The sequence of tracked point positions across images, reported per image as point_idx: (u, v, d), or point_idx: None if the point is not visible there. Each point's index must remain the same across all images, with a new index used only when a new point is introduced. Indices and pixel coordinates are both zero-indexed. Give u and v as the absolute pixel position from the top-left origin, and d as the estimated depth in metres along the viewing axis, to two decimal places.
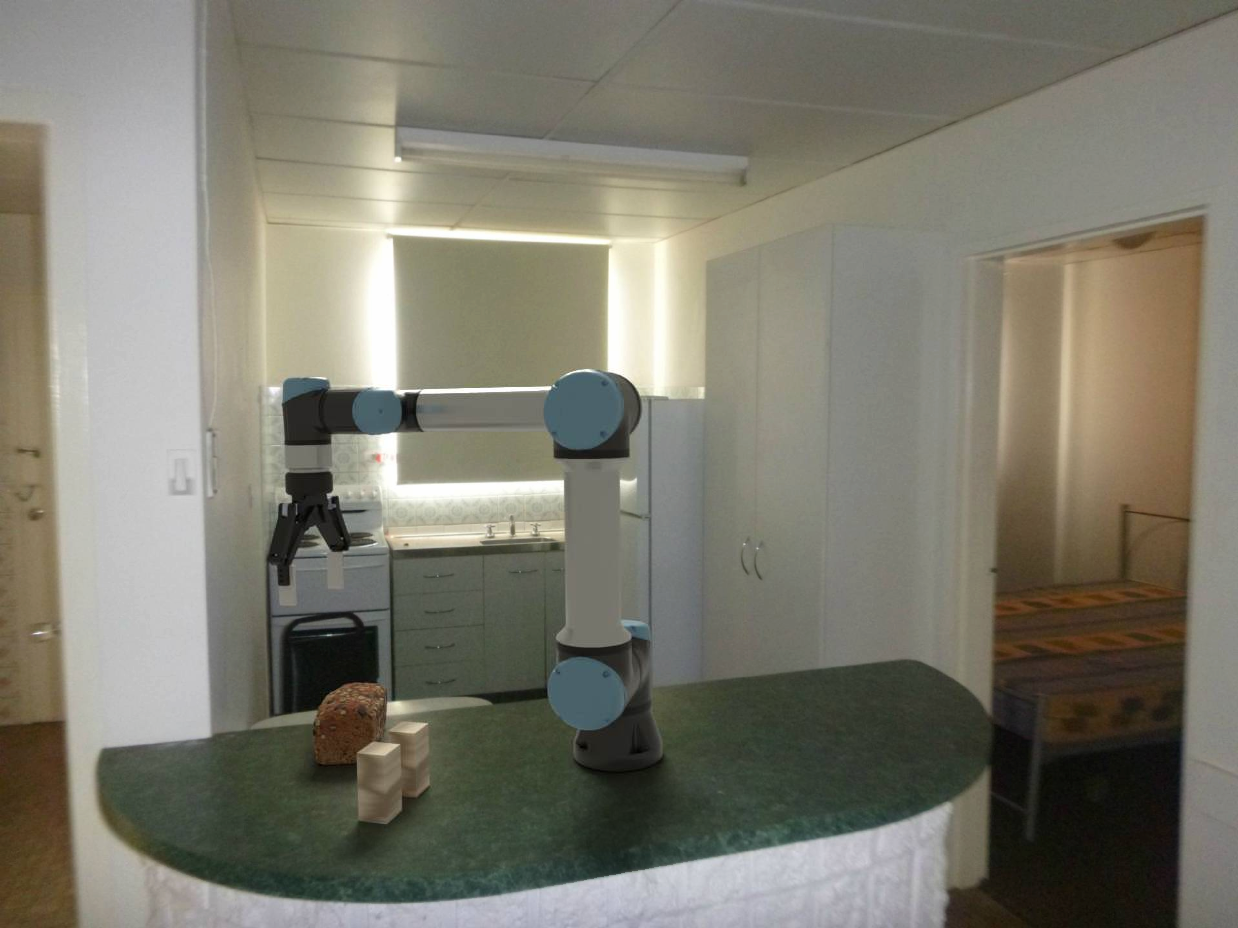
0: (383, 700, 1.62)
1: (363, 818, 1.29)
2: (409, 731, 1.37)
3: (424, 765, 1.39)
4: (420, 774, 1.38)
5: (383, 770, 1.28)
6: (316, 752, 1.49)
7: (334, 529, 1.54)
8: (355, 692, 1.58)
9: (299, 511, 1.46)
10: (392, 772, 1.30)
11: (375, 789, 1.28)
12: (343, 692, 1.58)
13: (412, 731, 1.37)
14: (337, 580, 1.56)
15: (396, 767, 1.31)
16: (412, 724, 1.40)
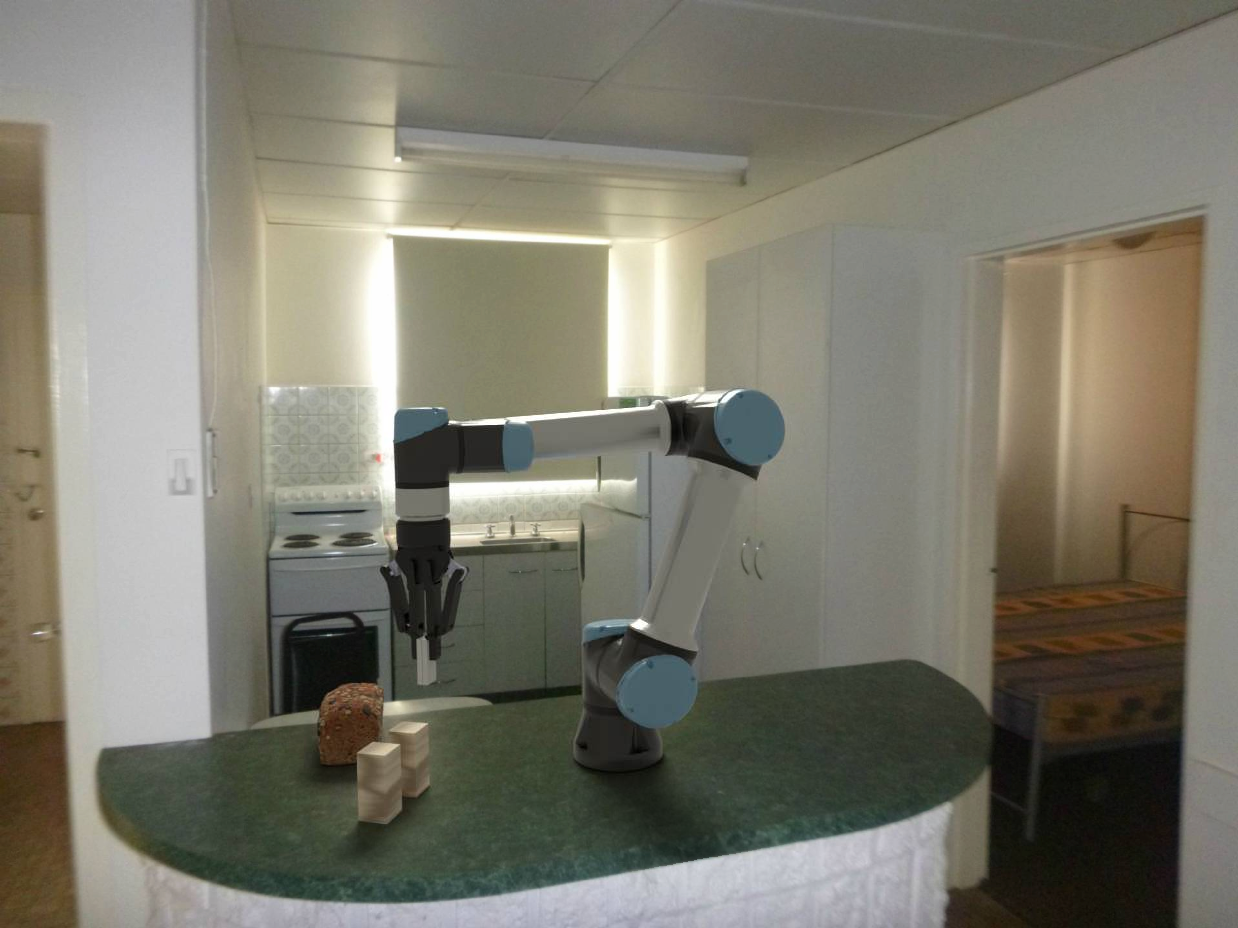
0: None
1: (363, 818, 1.29)
2: (409, 731, 1.37)
3: (424, 765, 1.39)
4: (420, 774, 1.38)
5: (383, 771, 1.28)
6: (321, 753, 1.49)
7: (431, 604, 1.25)
8: (355, 692, 1.58)
9: None
10: (392, 772, 1.30)
11: (375, 789, 1.28)
12: (343, 692, 1.58)
13: (412, 731, 1.37)
14: None
15: (396, 767, 1.31)
16: (412, 724, 1.40)
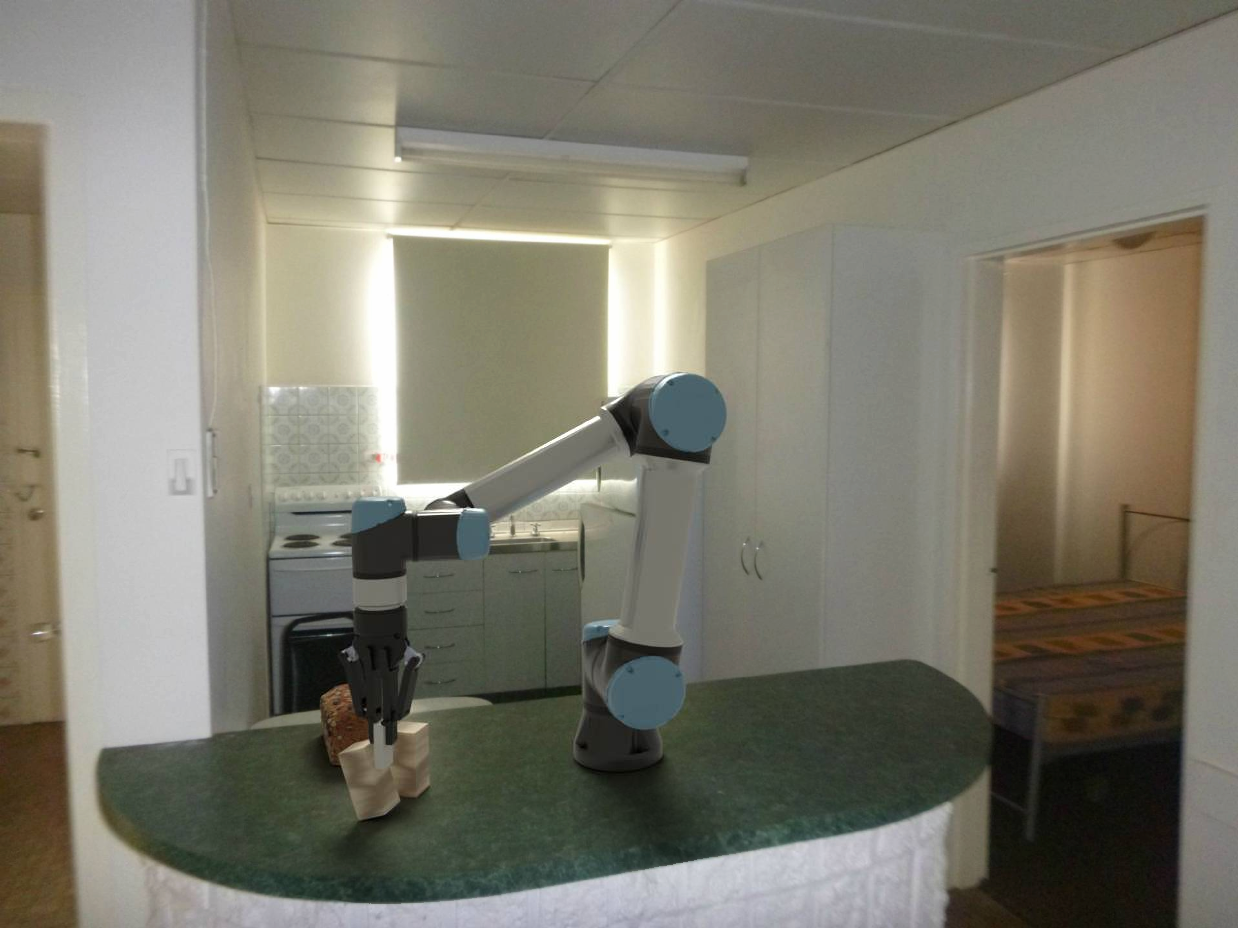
0: None
1: (362, 816, 1.29)
2: (409, 731, 1.37)
3: (424, 765, 1.39)
4: (420, 774, 1.38)
5: (367, 763, 1.28)
6: (332, 753, 1.48)
7: (387, 690, 1.28)
8: None
9: None
10: None
11: (365, 783, 1.29)
12: (345, 693, 1.57)
13: (412, 731, 1.37)
14: None
15: None
16: (412, 724, 1.40)
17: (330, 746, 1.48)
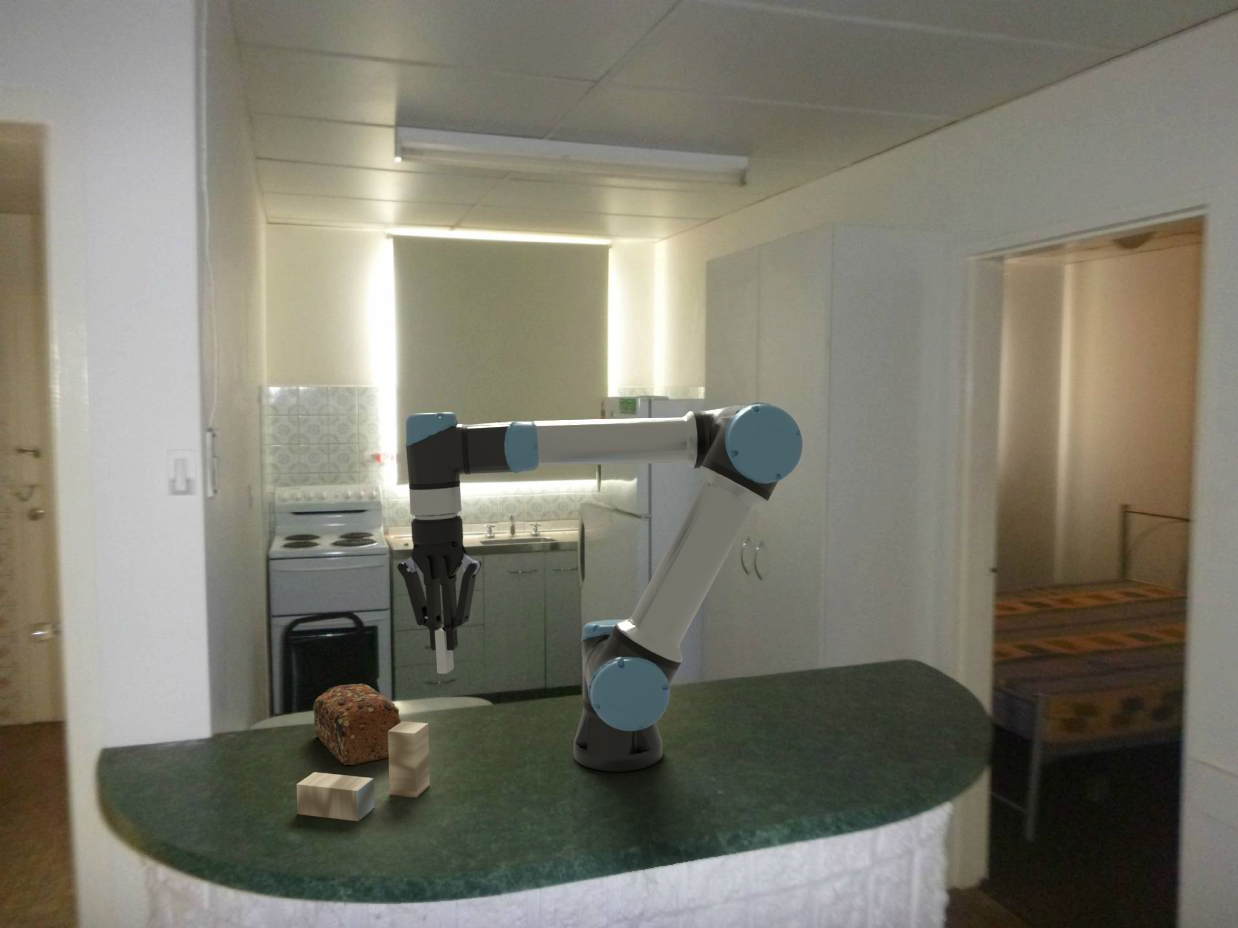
0: None
1: (355, 815, 1.29)
2: (409, 731, 1.37)
3: (424, 765, 1.39)
4: (420, 774, 1.38)
5: (310, 787, 1.31)
6: (345, 753, 1.48)
7: (447, 597, 1.33)
8: (359, 692, 1.58)
9: None
10: (323, 780, 1.33)
11: (327, 798, 1.30)
12: (347, 693, 1.57)
13: (412, 731, 1.37)
14: None
15: (327, 777, 1.34)
16: (412, 724, 1.40)
17: (343, 746, 1.48)
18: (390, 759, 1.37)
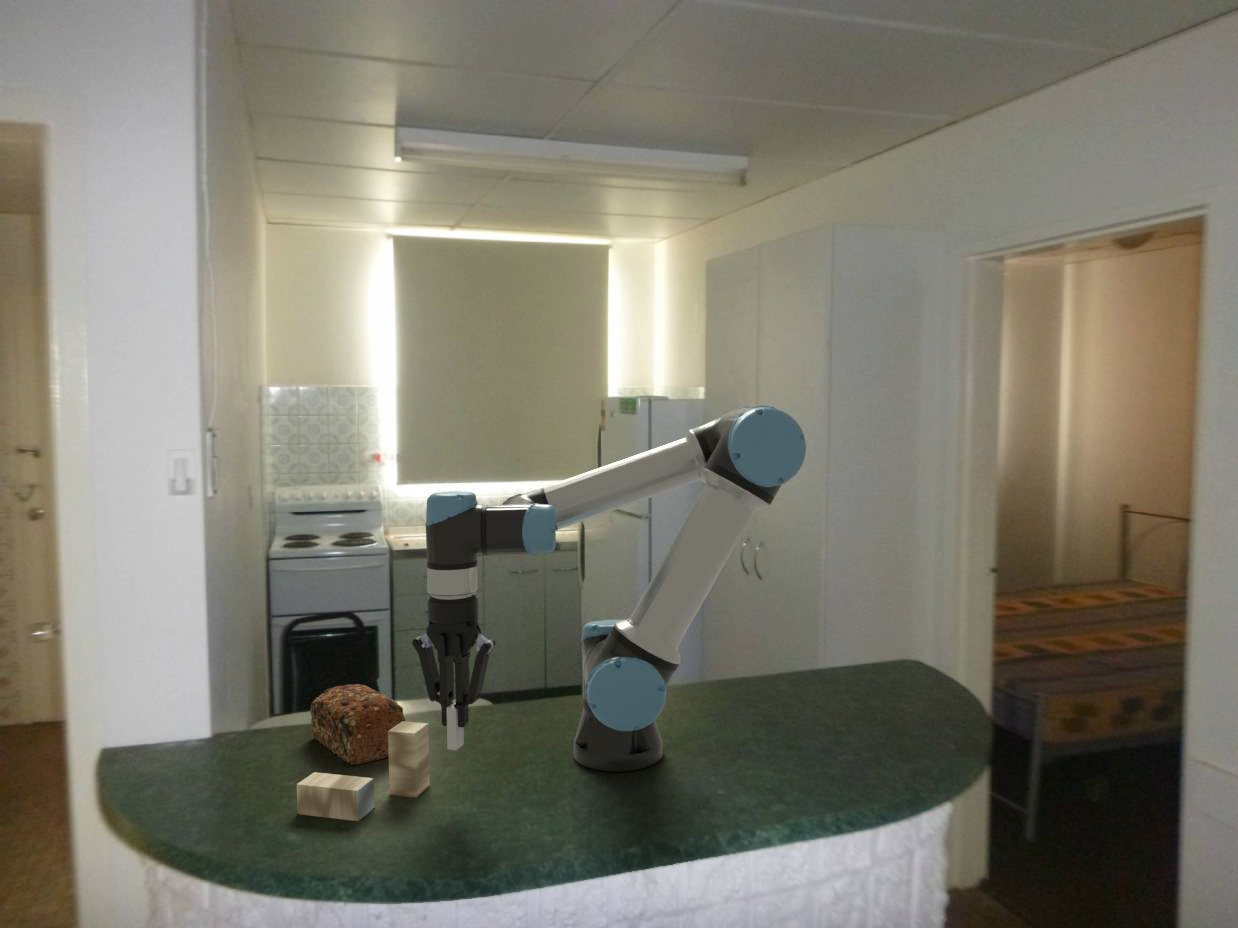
0: None
1: (355, 815, 1.29)
2: (409, 731, 1.37)
3: (424, 765, 1.39)
4: (420, 774, 1.38)
5: (310, 787, 1.31)
6: (352, 753, 1.49)
7: (460, 675, 1.35)
8: (360, 691, 1.58)
9: None
10: (323, 780, 1.33)
11: (327, 798, 1.30)
12: (348, 693, 1.57)
13: (412, 731, 1.37)
14: None
15: (327, 777, 1.34)
16: (412, 724, 1.40)
17: (350, 745, 1.48)
18: (390, 759, 1.37)
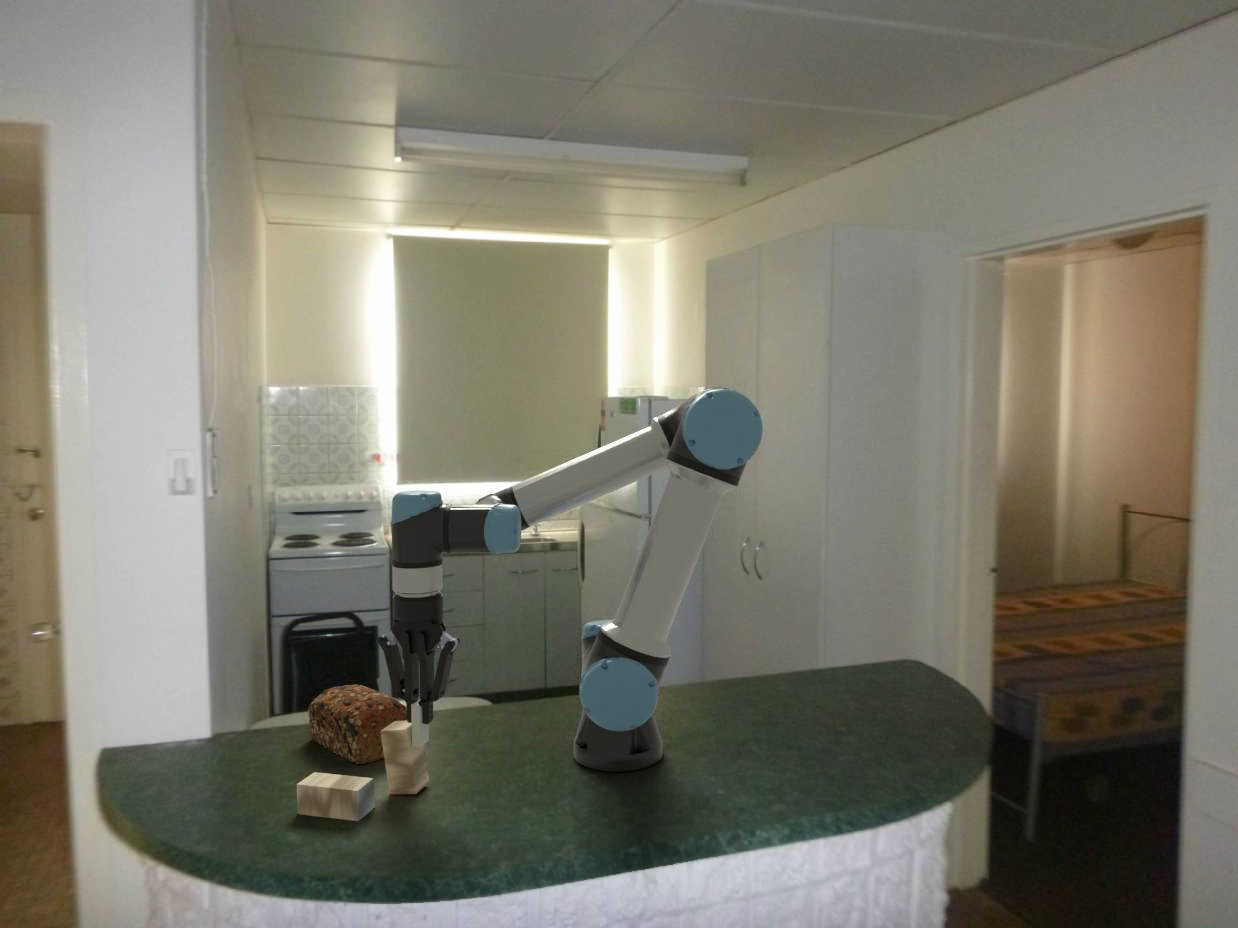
0: None
1: (355, 815, 1.29)
2: (401, 728, 1.37)
3: (421, 761, 1.39)
4: (418, 771, 1.38)
5: (310, 787, 1.31)
6: (358, 752, 1.49)
7: (424, 672, 1.36)
8: (361, 691, 1.58)
9: None
10: (323, 780, 1.33)
11: (327, 798, 1.30)
12: (349, 693, 1.57)
13: (404, 728, 1.37)
14: None
15: (327, 777, 1.34)
16: (404, 722, 1.41)
17: (356, 745, 1.48)
18: (386, 759, 1.38)
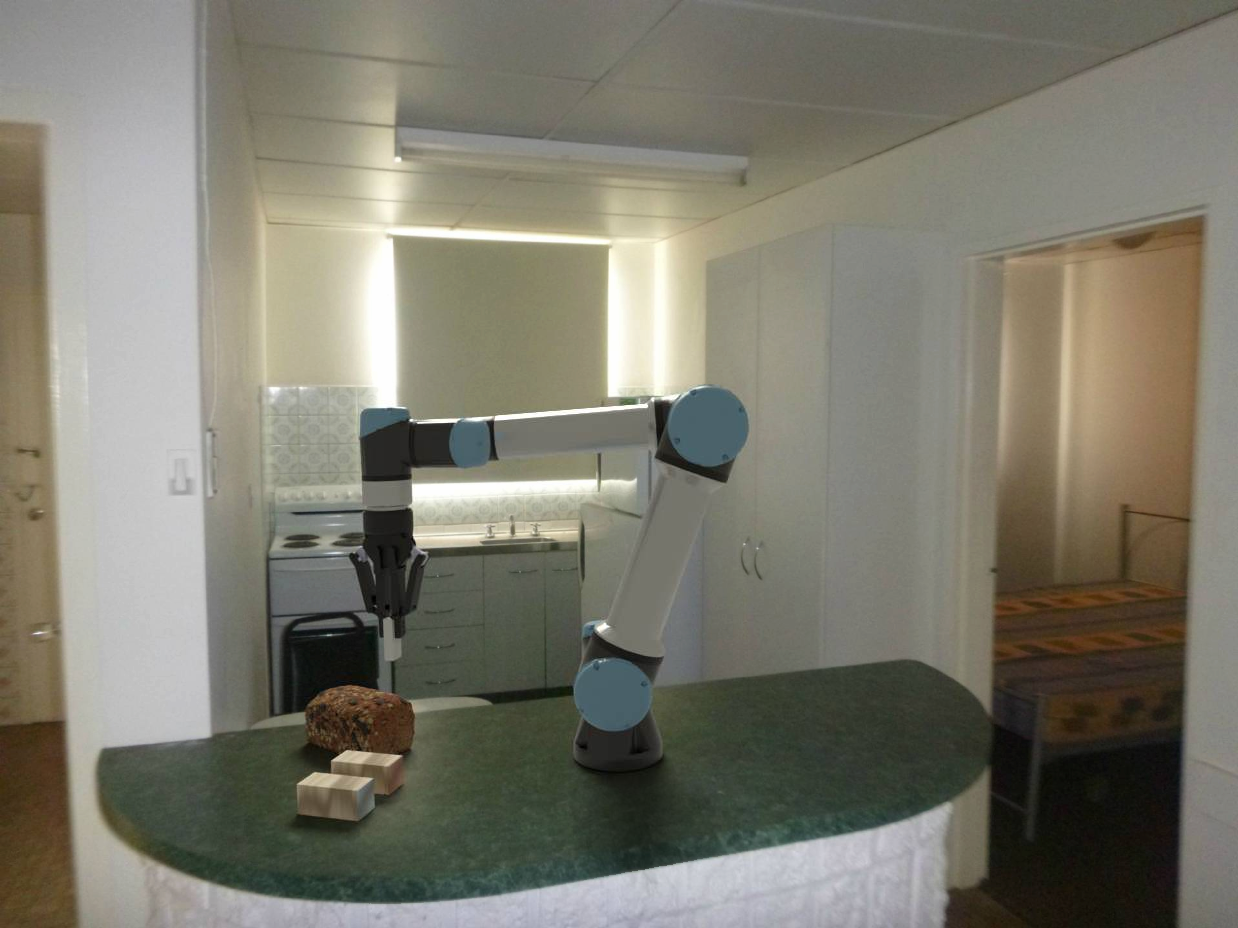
0: None
1: (355, 815, 1.29)
2: None
3: (375, 757, 1.41)
4: (377, 760, 1.40)
5: (310, 787, 1.31)
6: (370, 750, 1.50)
7: (396, 586, 1.37)
8: (363, 691, 1.58)
9: None
10: (323, 780, 1.33)
11: (327, 798, 1.30)
12: (352, 694, 1.57)
13: None
14: None
15: (327, 777, 1.34)
16: None
17: (368, 743, 1.49)
18: None
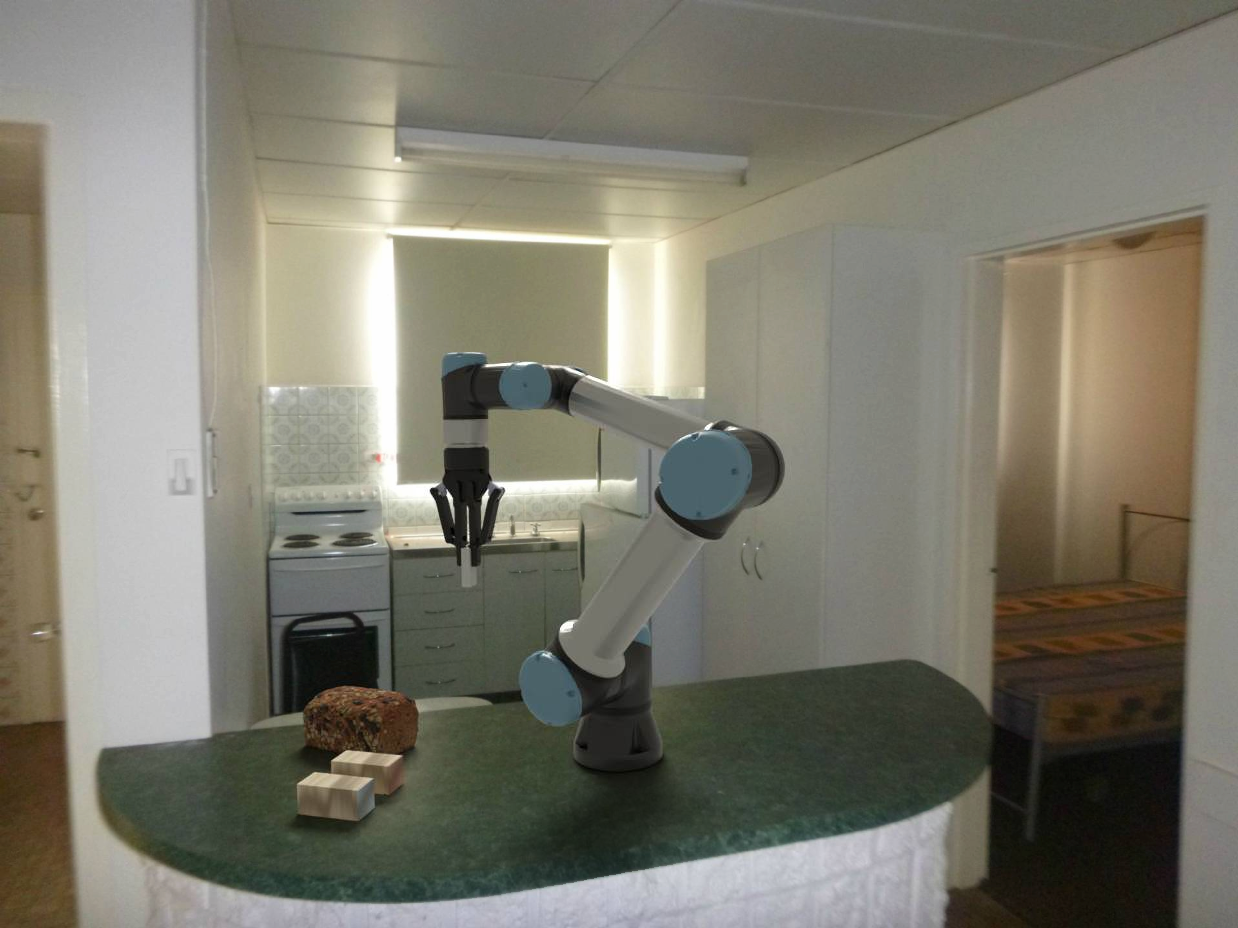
0: None
1: (355, 815, 1.29)
2: None
3: (375, 757, 1.41)
4: (377, 760, 1.40)
5: (310, 787, 1.31)
6: (379, 749, 1.50)
7: (473, 518, 1.49)
8: (364, 691, 1.59)
9: None
10: (323, 780, 1.33)
11: (327, 798, 1.30)
12: (354, 694, 1.57)
13: None
14: None
15: (327, 777, 1.34)
16: None
17: (378, 742, 1.50)
18: None
